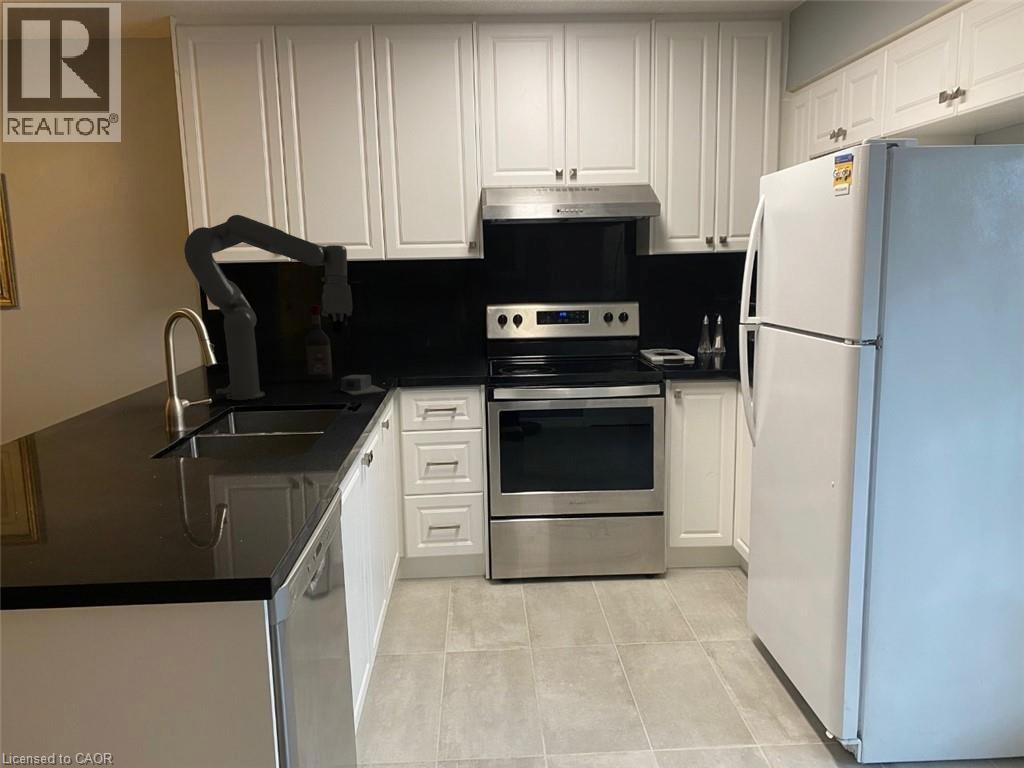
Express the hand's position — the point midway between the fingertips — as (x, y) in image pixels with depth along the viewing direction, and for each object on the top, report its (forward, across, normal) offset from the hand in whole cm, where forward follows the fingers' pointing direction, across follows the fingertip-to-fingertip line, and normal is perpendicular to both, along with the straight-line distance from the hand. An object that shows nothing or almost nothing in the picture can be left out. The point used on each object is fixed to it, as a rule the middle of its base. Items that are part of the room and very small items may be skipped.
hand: (337, 332), depth 249 cm
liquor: (+22, +2, +32) cm, 39 cm away
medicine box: (+19, +4, -2) cm, 19 cm away
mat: (+21, +8, -3) cm, 23 cm away
